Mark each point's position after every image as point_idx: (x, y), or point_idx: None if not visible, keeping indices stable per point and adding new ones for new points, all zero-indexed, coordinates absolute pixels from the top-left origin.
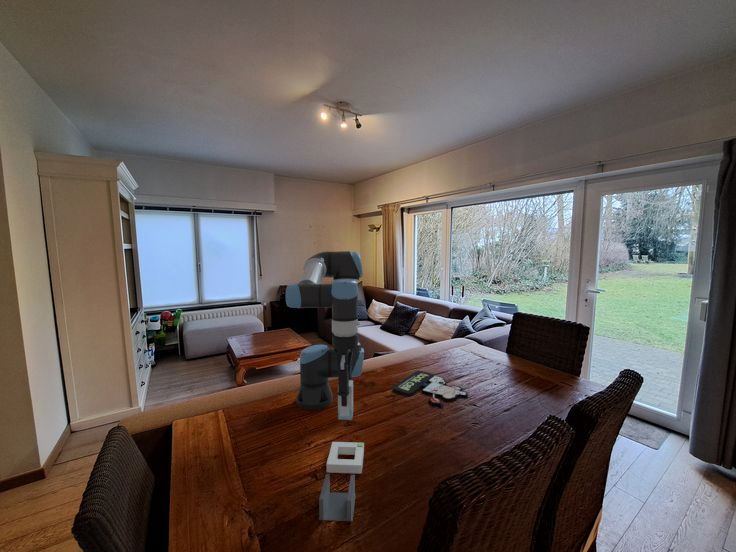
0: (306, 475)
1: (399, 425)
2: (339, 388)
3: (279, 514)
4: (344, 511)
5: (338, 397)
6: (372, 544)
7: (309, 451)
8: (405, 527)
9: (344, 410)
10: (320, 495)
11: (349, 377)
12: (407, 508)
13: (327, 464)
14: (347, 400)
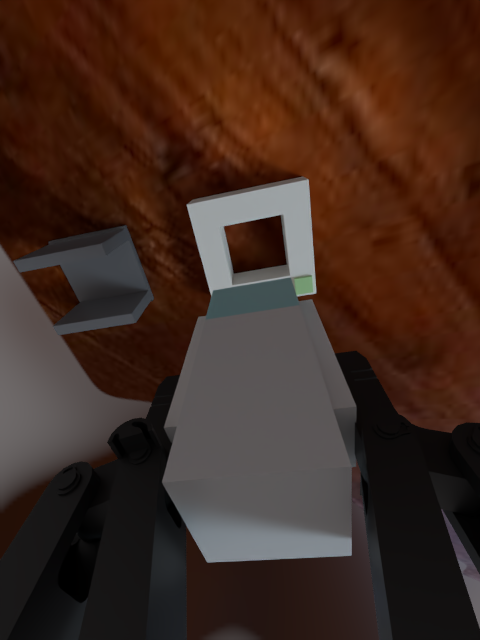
0: (166, 129)
1: (446, 352)
2: (5, 569)
3: (7, 119)
4: (96, 291)
5: (191, 379)
6: (71, 349)
7: (285, 72)
8: (126, 388)
9: None
10: (25, 259)
11: (373, 571)
12: None
13: (188, 208)
14: None
